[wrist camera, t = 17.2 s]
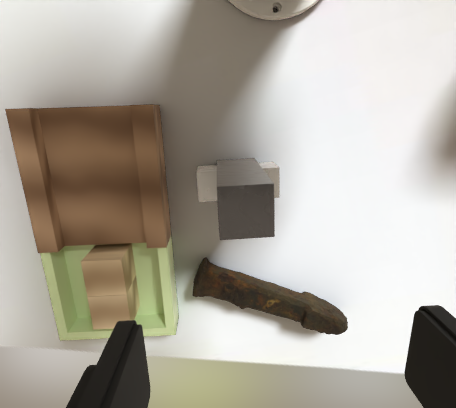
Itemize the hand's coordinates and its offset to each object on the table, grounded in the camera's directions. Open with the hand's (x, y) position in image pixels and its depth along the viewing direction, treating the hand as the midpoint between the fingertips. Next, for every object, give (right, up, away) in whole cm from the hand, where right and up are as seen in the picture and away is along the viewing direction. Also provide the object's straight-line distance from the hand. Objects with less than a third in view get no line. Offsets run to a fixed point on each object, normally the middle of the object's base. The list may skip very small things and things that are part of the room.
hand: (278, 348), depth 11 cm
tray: (-14, -4, +26) cm, 30 cm away
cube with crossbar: (-1, +8, +23) cm, 24 cm away
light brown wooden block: (-14, -5, +26) cm, 30 cm away
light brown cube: (-14, -1, +25) cm, 29 cm away
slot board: (-15, +8, +22) cm, 28 cm away
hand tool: (+4, -5, +28) cm, 28 cm away
